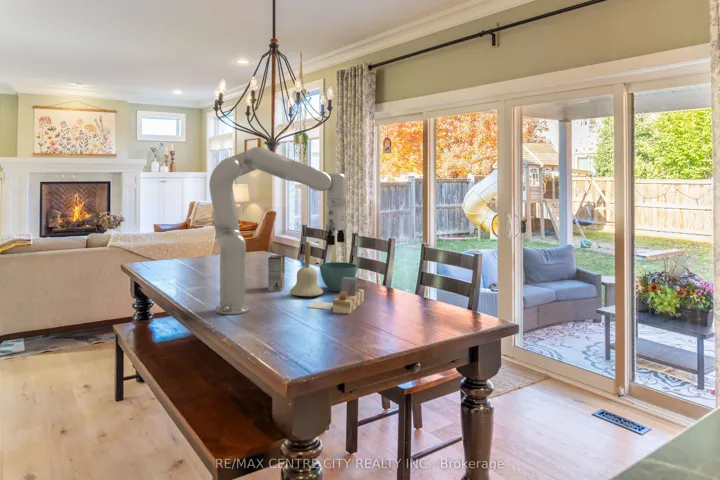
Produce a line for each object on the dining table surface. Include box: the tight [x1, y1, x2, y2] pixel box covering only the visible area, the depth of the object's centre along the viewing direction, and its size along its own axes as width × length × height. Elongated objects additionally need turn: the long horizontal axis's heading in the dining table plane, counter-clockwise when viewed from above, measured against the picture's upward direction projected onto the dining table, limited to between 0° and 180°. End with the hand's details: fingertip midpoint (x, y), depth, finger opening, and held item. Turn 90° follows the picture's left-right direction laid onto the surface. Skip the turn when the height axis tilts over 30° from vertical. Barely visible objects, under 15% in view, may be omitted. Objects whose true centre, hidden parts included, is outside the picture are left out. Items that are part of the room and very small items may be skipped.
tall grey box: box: [341, 277, 359, 296], centre depth 206 cm, size 4×6×7 cm, turn 76°
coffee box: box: [267, 254, 286, 292], centre depth 234 cm, size 9×6×16 cm
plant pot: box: [319, 261, 358, 293], centre depth 237 cm, size 18×18×12 cm
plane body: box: [332, 283, 365, 315], centre depth 206 cm, size 24×7×8 cm, turn 166°
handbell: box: [289, 241, 324, 297], centre depth 222 cm, size 15×15×25 cm
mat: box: [306, 301, 333, 311], centre depth 205 cm, size 10×10×1 cm
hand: (335, 243), depth 205 cm, fingers open, 9 cm apart
